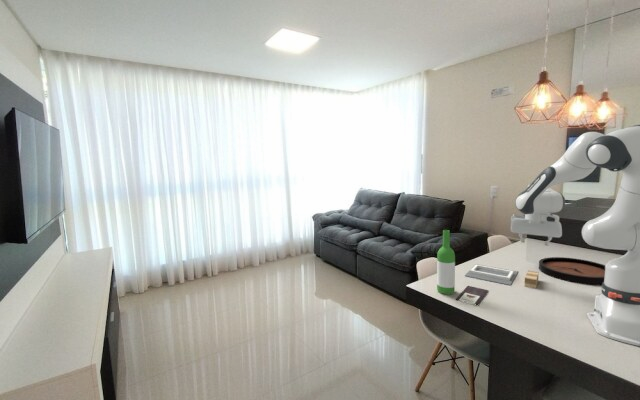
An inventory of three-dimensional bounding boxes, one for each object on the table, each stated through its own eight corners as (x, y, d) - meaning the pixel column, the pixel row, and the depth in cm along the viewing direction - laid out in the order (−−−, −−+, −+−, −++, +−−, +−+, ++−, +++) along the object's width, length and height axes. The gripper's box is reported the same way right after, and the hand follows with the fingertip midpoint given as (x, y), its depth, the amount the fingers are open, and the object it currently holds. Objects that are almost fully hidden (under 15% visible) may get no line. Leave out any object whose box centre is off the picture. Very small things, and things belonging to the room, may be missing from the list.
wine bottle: (434, 288, 146) (434, 229, 142) (449, 287, 146) (450, 228, 143) (441, 295, 138) (442, 232, 134) (457, 294, 139) (458, 231, 135)
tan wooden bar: (535, 289, 142) (536, 280, 141) (524, 286, 144) (524, 277, 144) (538, 280, 151) (538, 272, 150) (527, 278, 153) (527, 270, 153)
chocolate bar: (488, 290, 141) (477, 304, 127) (488, 292, 141) (477, 306, 128) (467, 285, 147) (455, 298, 133) (467, 287, 147) (455, 300, 134)
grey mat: (510, 285, 146) (510, 281, 146) (464, 276, 160) (464, 272, 159) (517, 272, 162) (518, 268, 162) (475, 264, 176) (475, 261, 176)
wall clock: (628, 269, 150) (600, 282, 136) (628, 277, 151) (599, 291, 137) (556, 253, 178) (526, 263, 164) (556, 260, 179) (526, 270, 164)
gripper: (509, 215, 148) (508, 242, 150) (562, 219, 134) (560, 248, 136) (511, 212, 152) (510, 239, 154) (563, 216, 139) (561, 245, 141)
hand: (534, 243), depth 145 cm, fingers open, 8 cm apart
